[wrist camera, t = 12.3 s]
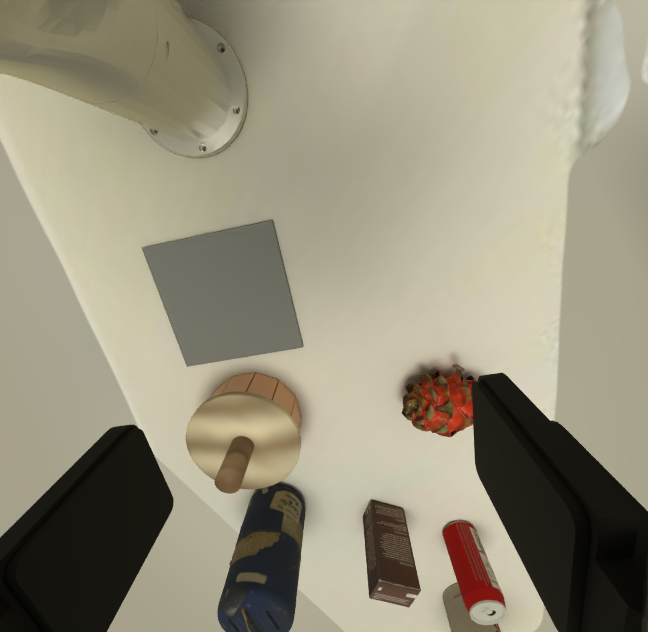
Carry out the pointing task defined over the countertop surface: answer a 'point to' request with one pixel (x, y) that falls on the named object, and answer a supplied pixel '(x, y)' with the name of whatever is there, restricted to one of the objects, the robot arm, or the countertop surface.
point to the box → (389, 555)
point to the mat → (226, 294)
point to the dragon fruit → (440, 403)
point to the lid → (243, 441)
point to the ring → (263, 391)
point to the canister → (265, 564)
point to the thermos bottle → (462, 613)
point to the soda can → (474, 574)
